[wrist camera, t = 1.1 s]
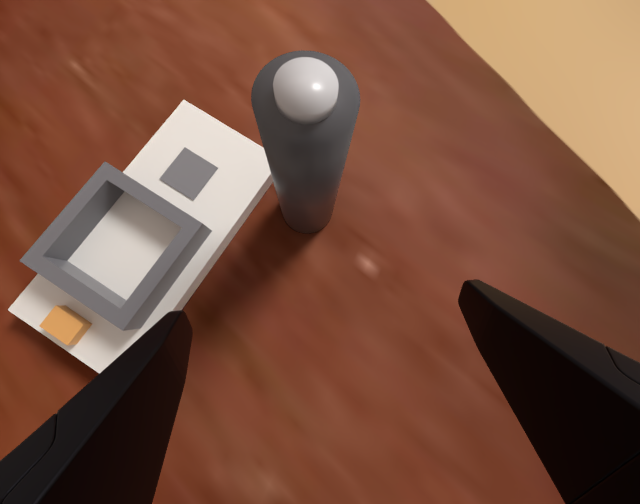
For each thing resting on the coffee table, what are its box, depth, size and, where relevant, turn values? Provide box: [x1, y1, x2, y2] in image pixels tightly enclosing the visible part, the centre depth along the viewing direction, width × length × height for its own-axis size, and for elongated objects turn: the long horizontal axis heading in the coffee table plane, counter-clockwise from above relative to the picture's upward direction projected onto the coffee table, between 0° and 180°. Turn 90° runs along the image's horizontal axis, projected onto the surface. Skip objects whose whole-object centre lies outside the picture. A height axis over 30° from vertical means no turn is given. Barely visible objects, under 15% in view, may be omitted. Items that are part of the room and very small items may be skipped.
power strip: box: [8, 100, 273, 374], centre depth 21 cm, size 20×10×4 cm, turn 148°
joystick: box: [251, 51, 360, 233], centre depth 17 cm, size 4×4×14 cm
